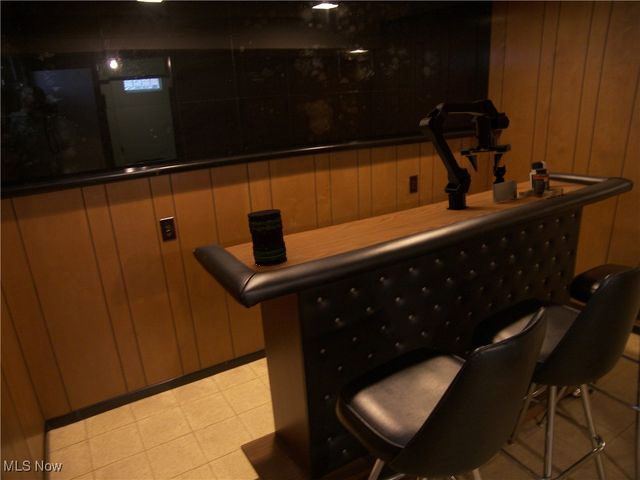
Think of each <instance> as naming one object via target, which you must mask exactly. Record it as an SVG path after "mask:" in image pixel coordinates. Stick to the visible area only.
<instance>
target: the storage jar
mask: <svg viewBox="0 0 640 480" xmlns="http://www.w3.org/2000/svg"><path fill="white" fill-rule="evenodd" d="M281 212H282V211H281V209H275V208H274V209H264V210H258V211H253V212H249V213H248V214H247V216H246V217H247V222H248V224H247V225H248V228H249V234H250V235H251V241H252V247H251V248H252V255H253V259H254V265H255V264H257V265H260V266H267V267H274V266H278V265H282V264H284V263H286V262H287V261H288V257H287V256H288V255H287V247H286V242H285V240H284V232H283V229H284V225H283V219H282V214H281ZM260 266H259V267H260Z"/></svg>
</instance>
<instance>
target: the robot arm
mask: <svg viewBox="0 0 640 480" xmlns="http://www.w3.org/2000/svg"><path fill="white" fill-rule="evenodd" d="M448 114H470V115H473V116H474V117H473V118H472V119H471V123H475V125H476V136H475V139H476V142H477V146H476V148H475V147H474V146H472V147H471V146H469V147H463V148H461V149H460V156H461V157H462V156H464V158H467V159H468V161H469V162H470V164H471V166H472V167H473V169H474V171H475V172H476V173H477V172H478V171H479V170H478V168H479V167H478V159H477V158H478V154H479V153H480V154H481V153H490V152H491V153H493V152H495V153H494V154H493V166H494V168H495V171H497V169H498V167H499V165H500V162H501V159H502V157H503V156H504V155H505V154H507V152H511V151H512V146H511V144H510V143H504V144H503V143H502V144H498V143H499V142H498V139H496V138H495V137H494V133H493V132H496V131H503V130H507V129H508V128H509V127H510V120H509V117H508V116H507V115H506V112H505V111H503V112H499V111H498V110H497V108H496V107H495V105H494V103H493V101H492V99H489V98H486V99H483V100H476V101H473V102H443V103H442V102H441V103H439V104H437V105H436V106H435V108H434V109H432V110H431V111H430V112H429V113H428V114H427V115H426V116H425V117H424V118H422V119H421V120H420V122H419V130H420V132H421V133H422V134H423V136H424V137H425V138H426V139H428V140H429V141H430V142H431V143H432V145H433V147H434V149H435V150H436V152H437V154H438V156H439V159H440V160H441V162H442V164H443V166H444V168H445V169H446V171H447V180H448V182H447V184H446V185H445V187H444V188H443V190H444V193H445V194H447V195H448V199H447V200H448V207H445V209H446V210H454V211H455V210H456V211H460V210H464V209H467V208H469V207H470V206H469V205H467V196H466V194H468V193H469V190H470V185H471V183H472V178H471V177H472V174H471V175H470V173H469V170H468V168H467V167H461V166H460V165H459V163H458V161H457V160H456V158H455V156H454V153H453V152H452V150H451V147H450V146H449V144H448V142H447V140H446V138H445V135H444V126H443V124H444V122H445V121H446V119H447V116H448ZM477 153H478V154H477Z"/></svg>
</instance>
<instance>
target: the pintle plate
mask: <svg viewBox="0 0 640 480" xmlns="http://www.w3.org/2000/svg"><path fill="white" fill-rule="evenodd" d="M520 199H522V198H519V197H517V198H513V199H509V200H508V201H517V200H520Z"/></svg>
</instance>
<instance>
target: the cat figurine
mask: <svg viewBox="0 0 640 480" xmlns="http://www.w3.org/2000/svg"><path fill="white" fill-rule="evenodd" d="M506 167H507V166H506V164H504V165H503V166H498V169H497V171H495V168H494V165H493V167H492V173H493V174H492V173H491V176H490V177H495V178H496V179H495V181H493V182H492V186H493V185H494V184H498V183H503V182H506V180H505V175H506V174H507V170H506Z"/></svg>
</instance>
